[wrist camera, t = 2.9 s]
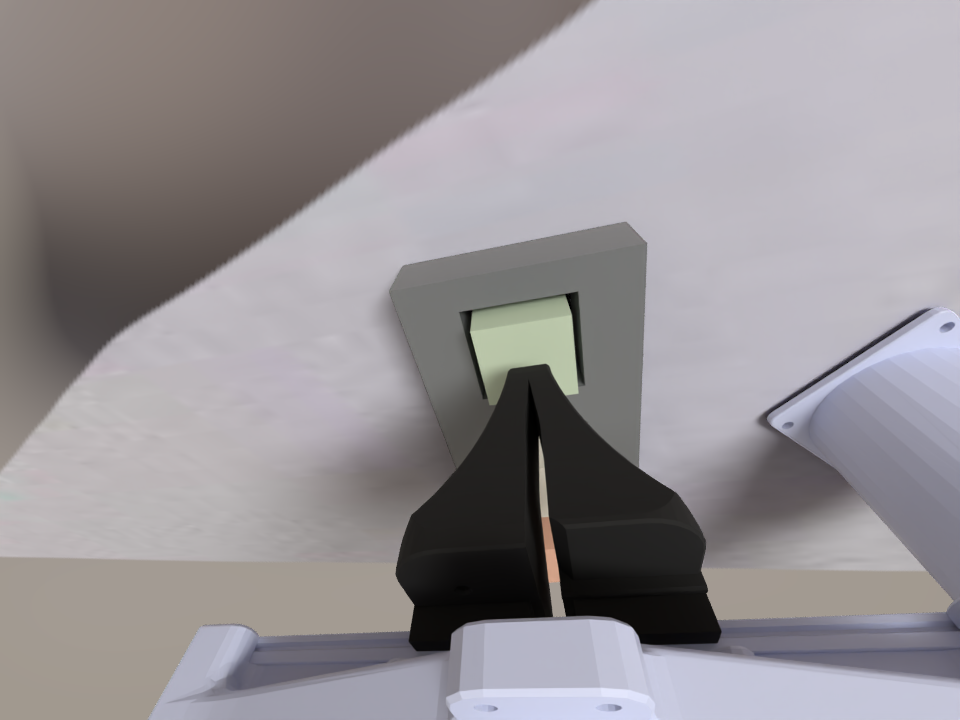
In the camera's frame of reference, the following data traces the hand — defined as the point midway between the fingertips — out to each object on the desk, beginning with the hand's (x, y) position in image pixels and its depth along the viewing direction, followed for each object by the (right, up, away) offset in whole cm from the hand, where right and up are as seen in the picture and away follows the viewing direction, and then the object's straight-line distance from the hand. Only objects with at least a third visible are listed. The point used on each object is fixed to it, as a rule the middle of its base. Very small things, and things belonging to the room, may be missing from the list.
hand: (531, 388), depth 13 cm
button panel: (+1, -2, +8) cm, 8 cm away
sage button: (0, +3, +4) cm, 4 cm away
